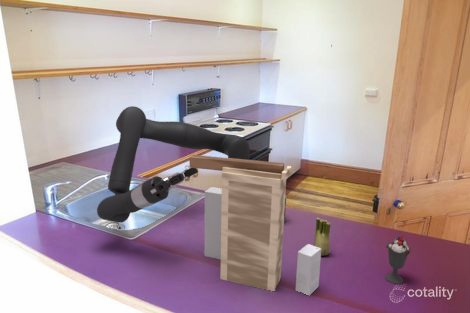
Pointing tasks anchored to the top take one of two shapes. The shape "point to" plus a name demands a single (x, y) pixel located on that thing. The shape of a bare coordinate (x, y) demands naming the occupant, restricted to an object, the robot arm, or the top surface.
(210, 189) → the grey pedestal
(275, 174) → the birch shelf
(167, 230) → the top surface
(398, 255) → the sundae
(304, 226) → the top surface
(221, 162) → the walnut bar
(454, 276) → the top surface
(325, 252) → the fennel bulb
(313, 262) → the skincare box
